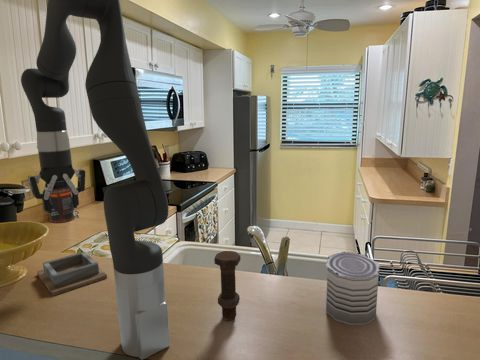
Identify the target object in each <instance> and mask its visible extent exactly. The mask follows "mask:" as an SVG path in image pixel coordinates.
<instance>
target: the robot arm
mask: <svg viewBox="0 0 480 360" xmlns="http://www.w3.org/2000/svg"><path fill="white" fill-rule="evenodd" d="M46 5H47V7H46V13H45V15H46V16H45V25H44V26H45V27H44V34H43V38H42V42H41V45H40V48H39V51H38V54H37V58H36V68H32V67H31V68H30V67H29V68H26V69H25V70H24V71H23V72H22V73H21V76H20V83H21V86H22V89H23V92H24V93H25V96H26V97H27V100H28V103H29V105H30V108H31V111H32V113H33V117H34V122H35V123H34V124H35V131H36V149H37V153H38V160H39V166H40V167H39V169H40V170H39V173H38V174H35V175H28V176H27V180H28V183H29V187H30V189H31V192H32V196H33V197H34V199H35V198H36V199H38V200H41V201H42V209H43V210H44V212H46V213H47V214H50V213H51V206H50V200H49V199H48V198H49V196H50V192H52V189H53V187H54V184H55V182H56V181H62V180H65V181H66V185H67V186H68V187H69V188H70V189H71V190H72V197H73V205H74V209H77V208H78V206H79V205H80V201H79V194H80V193H81V192H84V191H86V170H84V169H82V168H78V169H74V167H73V162H72V153H71V144H70V139H69V134H68V130H67V122H66V121H67V120H66V114H65V110H64V109H62V108H61V107H56V106H49V105H47V104H46V103H45V101H44V100H43V98H44V99H48V98H49V99H50V98H52V99H55V98H56V99H57V98H60V99H61V98H63V97H65V96H67V94H68V93H69V91H70V82H69V78H70V70H71V68H72V66H73V63H74V61H75V59H76V56H77V45H76V42H75V39H74V37H73V35H72V33H71V32H70V29H69V26H68V24H67V19H68V18H69V16H72V17H77V18H78V17H79V18H83V19H90V20H91V19H92V20H95V21H97V24H98V26H99V28H98V29H99V31H100V32H99V33H100V42H99V46H98V48H97V51H96V53H95V55H94V58H93V60H92V62H91V64H90V66H89V68H88V71H87V73H86V77H85V90H86V96H87V100H88V104H89V105H88V106H89V108H90V111H91V116H92V119H93V121H94V122H95V123H96V125H97V127H98V128H99V129H100V130H101V131H102V132H103V134H104V135H105V136H107V138H108V139H109V140H110V141H111V142H112V143H113V144H114V145H115V146H116V147H117V148H118V149H119V150H120V151H121V153H122V154H123V155H124V156H125V158H126V160H127V161H128V163H129V165H130V167H131V169H132V172H133V174H134V179H135V181H130V182H125V183H120V184H119V183H118V184H114V185H110V186H109V187H108V188H106V190H105V191H104V195H103V211H104V218H105V223H106V229H107V230H106V231H107V236H108V237H107V238H108V245H109V250H110V253H111V254H110V255H111V259H112V266H113V273H114V284H115V294H116V303H117V316H118V325H119V335H120V343H121V350H122V352H123V353H124V354H126V355H128V356H130V357H134V358H139V359H140V360H144V359H147V358H150V356H152V355H154V354H157V353H159V352H160V351H163V350H165V349H167V348H168V347H170V346H171V344H170V343H171V341H170V328H169V314H168V313H169V312H168V303H167V300H166V299H167V298H166V289H165V288H166V286H165V272H164V271H165V270H164V261H163V260H164V257H163V256H164V255H163V248H162V247H161V246H160V245H159V244H157V243H155V242H153V241H149V240H147V241H146V240H136V238H135V233H136V232H140V231H144V230H148V229H152V228H154V227H157V226H161V225H162V224H163V225H164V223H165V222H167V219H168V218H169V209H170V208H169V200H168V196H167V192H166V189H165V185H164V183H163V179H162V176H161V173H160V170H159V168H158V164H157V161H156V158H155V154H154V152H153V149H152V145H151V142H150V138H149V135H148V130H147V126H146V121H145V117H144V114H143V113H144V112H143V109H142V104H141V98H140V95H139V90H138V85H137V82H136V79H135V75H134V72H133V68H132V63H131V59H130V55H129V49H128V45H127V41H126V35H125V27H124V21H123V20H124V19H123V14H122V8H121V7H122V6H121V0H47V4H46ZM74 175H75V177H77V186H75V184H74V182H73V181H72V178H73V177H74ZM40 179H41V180H43V181H44V185H43V190H42V191H41V192H42V193H41V192H40V189H39V186H38V184H39V183H40Z"/></svg>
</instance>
